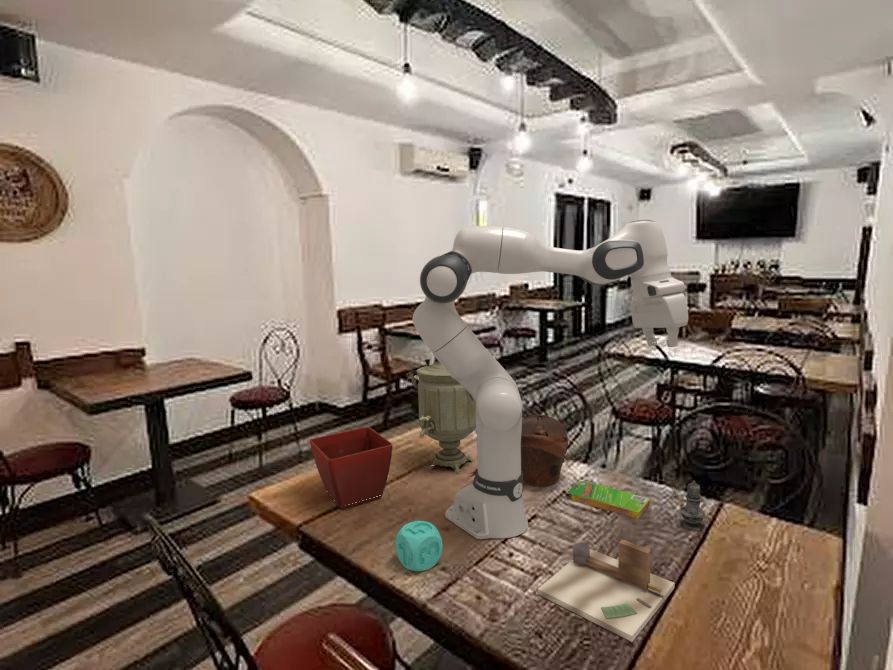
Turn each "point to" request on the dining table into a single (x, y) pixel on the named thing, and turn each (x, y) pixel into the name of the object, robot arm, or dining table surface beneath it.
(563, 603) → the dial board
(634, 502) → the game box
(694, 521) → the chess piece
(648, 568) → the tuning lever
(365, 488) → the plant pot
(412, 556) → the decorative dice
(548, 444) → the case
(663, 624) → the dining table surface
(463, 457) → the samovar
